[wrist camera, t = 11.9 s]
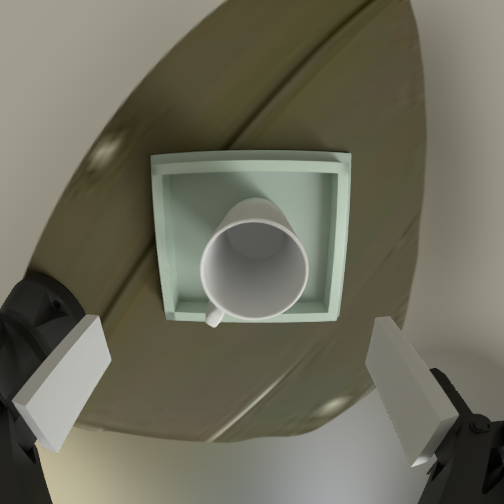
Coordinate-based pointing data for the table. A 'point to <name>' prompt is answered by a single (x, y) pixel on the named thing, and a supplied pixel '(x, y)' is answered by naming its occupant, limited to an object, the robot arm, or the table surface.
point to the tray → (232, 192)
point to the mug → (252, 264)
